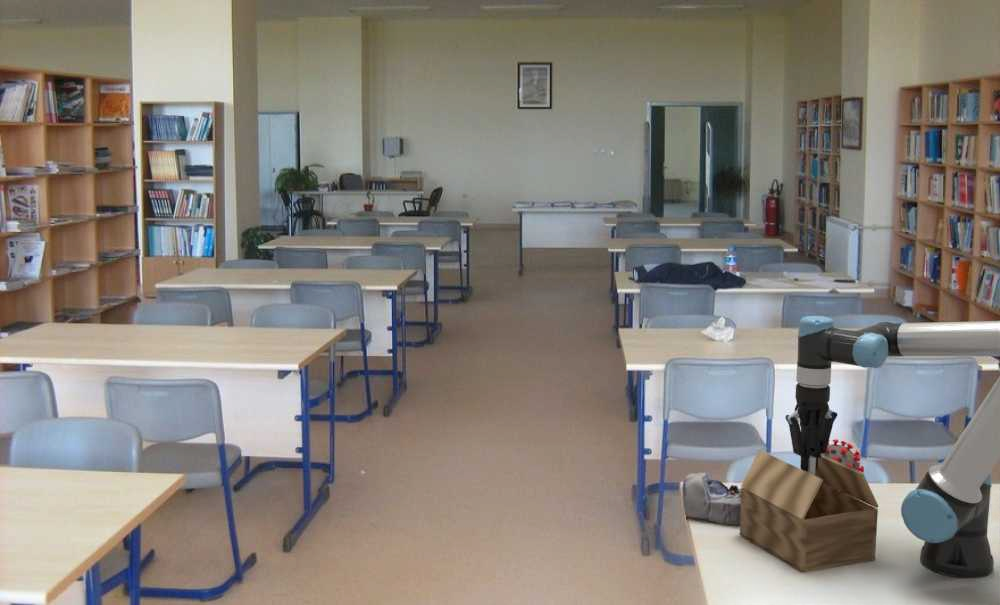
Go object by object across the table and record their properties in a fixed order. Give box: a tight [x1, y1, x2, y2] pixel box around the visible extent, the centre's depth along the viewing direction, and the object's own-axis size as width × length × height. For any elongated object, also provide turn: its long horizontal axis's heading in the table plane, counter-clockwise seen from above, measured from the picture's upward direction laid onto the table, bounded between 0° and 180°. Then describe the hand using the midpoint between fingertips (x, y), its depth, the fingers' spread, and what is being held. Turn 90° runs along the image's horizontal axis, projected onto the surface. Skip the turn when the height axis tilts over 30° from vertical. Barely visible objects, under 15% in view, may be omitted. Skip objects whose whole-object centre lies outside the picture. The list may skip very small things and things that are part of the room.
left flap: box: [740, 449, 823, 520], centre depth 250 cm, size 23×10×1 cm
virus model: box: [821, 438, 865, 493], centre depth 291 cm, size 14×15×15 cm
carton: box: [739, 483, 879, 574], centre depth 255 cm, size 24×20×12 cm
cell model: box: [681, 472, 741, 526], centre depth 274 cm, size 13×11×20 cm
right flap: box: [815, 455, 879, 509], centre depth 256 cm, size 23×10×1 cm
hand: (808, 483), depth 254 cm, fingers closed
